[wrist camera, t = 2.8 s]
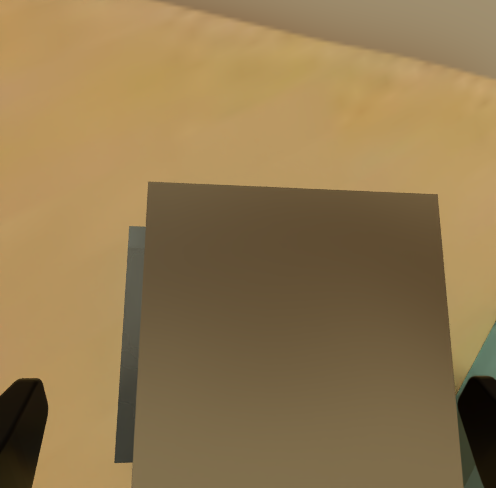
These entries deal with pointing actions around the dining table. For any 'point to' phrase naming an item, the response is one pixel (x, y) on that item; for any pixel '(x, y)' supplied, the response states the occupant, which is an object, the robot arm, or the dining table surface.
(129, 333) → the grey square bin
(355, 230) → the plate
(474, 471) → the tray
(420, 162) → the dining table surface
